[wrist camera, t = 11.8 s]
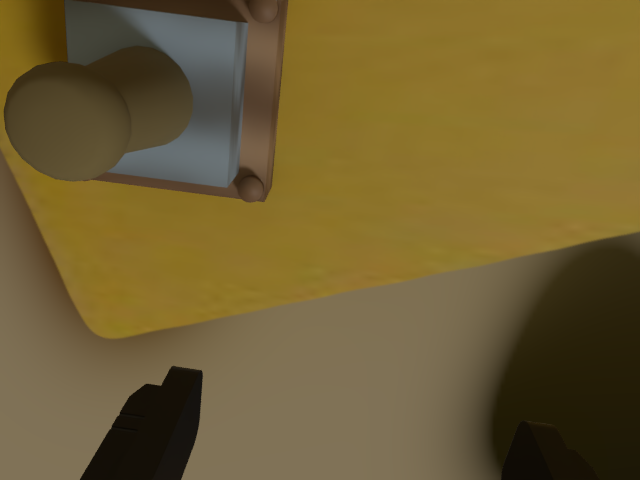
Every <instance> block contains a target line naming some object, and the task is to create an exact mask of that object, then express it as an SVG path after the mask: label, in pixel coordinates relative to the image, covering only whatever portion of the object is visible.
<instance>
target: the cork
mask: <svg viewBox="0 0 640 480" xmlns="http://www.w3.org/2000/svg"><path fill="white" fill-rule="evenodd" d="M192 113H193V95H192V91H191V87H190V84H189V81H188V79H187V77H186V76H185V74H184V72H183V71H182V69H181V67H180V66H179V65H178V64H177V63H176V62H174V61H173V60H172V59H171V58H170V57H169V56H168V55H166V54H164V53H162V52H160V51H158V50H156V49H154V48H151V47H143V46H132V47H127V48H123V49H120V50H118V51H116V52H114V53H111V54H109V55H107V56H105V57H103V58H101V59H99V60H97V61H94V62H92V63H90V64H88V65H86V66H83V65H81V64H76V63H69V62H52V63H47V64H42V65H38V66H35V67H34V68H32V69H31V70H29V71H28V72H26V73H25V74H23V75H22V76H20V77H19V78H18V79H17V80H16V81H15V83H14V84H13V86H12V87H11V89H10V90H9V92H8V94H7V98H6V103H5V107H4V120H5V129H6V132H7V134H8V137H9V139H10V142H11V144H12V146H13V147H14V148H15V150H16V151H17V152H18V154H19V155H20V156H21V158H22V159H23V160H25V161H26V162H27V163H28V164H30V165H31V166H32V167H33V168H35V169H36V170H37V171H39V172H41V173H43V174H45V175H48V176H50V177H52V178H54V179H59V180H66V181H82V180H87V179H93V178H96V177H98V176H100V175H101V174H103V173H105V172H107V171H108V170H110V169H112V168H113V167H115V165H116V164H117V163H118V162H119V160H120V159H121V158H122V157H123V155H124V154H125V153H129V152H134V151H139V150H143V149H148V148H153V147H157V146H162V145H166V144H168V143H170V142H171V141H173V140H175V139H177V138H178V137H179V136H180V135H181V134H182V132H183V131H184V130H185V129H186V128H187V126H188V124H189V121H190V118H191V115H192Z"/></svg>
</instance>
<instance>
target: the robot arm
mask: <svg viewBox="0 0 640 480" xmlns="http://www.w3.org/2000/svg"><path fill="white" fill-rule="evenodd" d="M202 379H203V373H202V371H201V370H195V369H189V368H182V367H176V366H172V367H171V369H170V370H169V372H168V374H167V376H166V378H165V379H164V381H163V383H162V385H161V386H158V385H151V384H145V385H144V386H143V387H141V388H140V389H139V390H137V391H136V392H135V393H133V394H132V395H131V396H130V397H129V398H128V400H127V402H126V403H125V405H124V406H123V408H122V410H121V412H120V415H119V416H118V417H117V418H116V420H115V422H114V423H113V425H112V428H111V429H110V430H109V432H108V433H107V435H106V437H105V438H104V440H103V442H102V443H101V445H100V447H99V448H98V450H97V452H96V453H95V455H94V457H93V458H92V460H91V462H90V464H89V465H88V467H87V468H86V470H85V472H84V474H83V475H82V477H81V479H80V480H181V478H182V475H183V473H184V470H185V467H186V464H187V462H188V459H189V457H190V454H191V451H192V449H193V446H194V443H195V440H196V436H197V431H198V427H199V420H200V407H201V406H200V405H201V393H202V392H201V391H202ZM501 480H599V478H598V476H597V474H596V473H595V471H594V469H593V467H592V466H590V464H589V463H588V462H586V460H585V459H584V458H583V457H582V456H581V455H580V454H579V453H578V452H577V451H576V450H572V449H568V448H567V447H566V444H565V443H564V441H563V439H562V437H561V435H560V433H559V431H558V429H557V428H556V427H555V426H554V425H549V424H543V423H536V422H529V421H521V422H520V423H519V425H518V427H517V430H516V432H515V435H514V438H513V440H512V443H511V446H510V448H509V451H508V454H507V456H506V459H505V462H504V465H503V468H502V475H501Z"/></svg>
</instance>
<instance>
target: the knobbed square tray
mask: <svg viewBox="0 0 640 480" xmlns="http://www.w3.org/2000/svg"><path fill="white" fill-rule="evenodd" d="M64 5H65V21H66V38H67V54H68V62H69V63H76V64H81V65H83V66H86V65H88V64H90V63H92V62H94V61H97V60H99V59H101V58H103V57H105V56H107V55H109V54H111V53H114V52H116V51H118V50H120V49H123V48H127V47H132V46H143V47H151V48H154V49H156V50H158V51H160V52H162V53H164V54H166V55H168V56H169V57H170V58H171V59H172V60H173V61H174V62H176V63H177V64H178V65H179V66H180V67H181V69H182V71H183V72H184V74H185V76H186V77H187V79H188V81H189V84H190V87H191V91H192V95H193V113H192V115H191V118H190V121H189V124H188V126H187V128H186V129H185V130H184V131H183V132H182V134H181V135H180V136H179V137H178V138H177V139H175V140H173V141H171V142H170V143H168V144H166V145H162V146H157V147H153V148H148V149H143V150H139V151H134V152H129V153H125V154H124V155H123V157H122V158H121V159H120V160H119V162H118V163H117V164H116V165H115V167H113V168H112V169H110V170H108V171H107V172H105V173H103V174H101V175H100V176H98V177H96V178H93V179H87V180H82V181H89V180H98V181H106V182H114V183H121V184H129V185H137V186H145V187H152V188H160V189H168V190H175V191H183V192H191V193H199V194H206V195H214V196H222V197H229V198H237V199H242V200H244V201H246V202H255V201H260V202H265V199H266V197H267V195H268V193H269V191H270V189H271V187H272V176H273V165H274V153H275V142H276V131H277V119H278V108H279V97H280V86H281V74H282V63H283V52H284V40H285V29H286V18H287V6H288V0H64Z"/></svg>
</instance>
